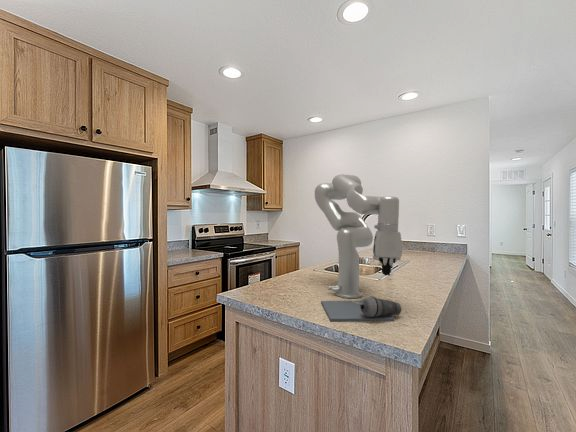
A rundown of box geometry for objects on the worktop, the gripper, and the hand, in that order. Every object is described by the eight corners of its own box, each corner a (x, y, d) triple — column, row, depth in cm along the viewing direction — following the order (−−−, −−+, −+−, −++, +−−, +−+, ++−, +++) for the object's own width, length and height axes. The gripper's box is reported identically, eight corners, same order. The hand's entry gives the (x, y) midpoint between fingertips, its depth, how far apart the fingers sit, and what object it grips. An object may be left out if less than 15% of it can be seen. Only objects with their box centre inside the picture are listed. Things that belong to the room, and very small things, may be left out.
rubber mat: (330, 321, 97) (330, 318, 97) (321, 303, 117) (321, 300, 117) (394, 321, 98) (394, 318, 98) (374, 302, 118) (374, 300, 118)
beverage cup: (388, 312, 107) (343, 309, 100) (392, 295, 106) (348, 291, 99) (400, 322, 100) (354, 320, 93) (406, 304, 99) (359, 300, 93)
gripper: (372, 228, 104) (370, 276, 104) (411, 229, 104) (409, 277, 105) (365, 227, 111) (364, 272, 112) (402, 227, 112) (400, 272, 113)
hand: (386, 274), depth 109 cm, fingers closed
